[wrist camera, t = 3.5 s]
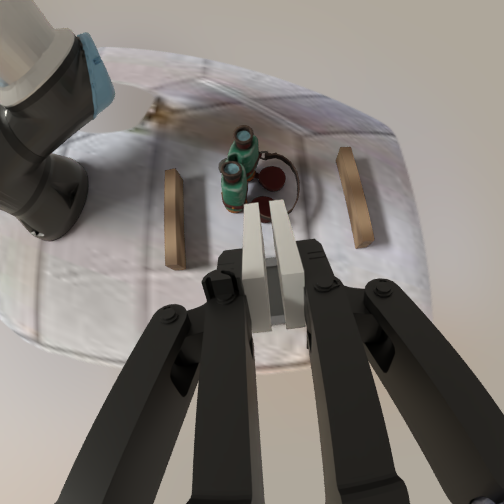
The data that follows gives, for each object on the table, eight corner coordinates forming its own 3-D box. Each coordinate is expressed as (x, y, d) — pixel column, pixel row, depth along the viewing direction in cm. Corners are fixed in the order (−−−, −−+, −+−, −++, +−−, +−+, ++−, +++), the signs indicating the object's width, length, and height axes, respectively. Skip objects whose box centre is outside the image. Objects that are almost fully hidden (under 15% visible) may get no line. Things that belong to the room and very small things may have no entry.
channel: (366, 247, 35) (374, 240, 31) (175, 270, 36) (165, 265, 33) (345, 159, 38) (350, 146, 34) (173, 181, 39) (164, 170, 36)
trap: (310, 319, 34) (311, 319, 33) (245, 327, 34) (244, 327, 33) (302, 255, 35) (303, 253, 34) (239, 263, 36) (237, 261, 35)
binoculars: (301, 206, 27) (201, 181, 27) (287, 234, 37) (213, 214, 37) (317, 133, 28) (228, 112, 29) (301, 174, 39) (232, 157, 39)
